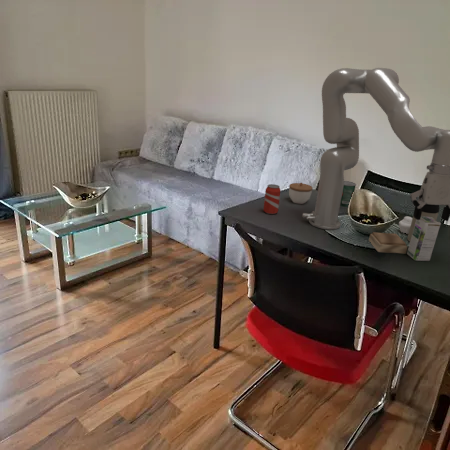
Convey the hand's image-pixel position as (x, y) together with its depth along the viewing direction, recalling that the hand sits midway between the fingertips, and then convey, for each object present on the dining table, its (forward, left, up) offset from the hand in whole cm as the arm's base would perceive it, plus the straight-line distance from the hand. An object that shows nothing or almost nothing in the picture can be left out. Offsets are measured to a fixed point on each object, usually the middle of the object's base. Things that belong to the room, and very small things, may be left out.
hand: (430, 219), depth 134 cm
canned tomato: (-10, +54, -15) cm, 57 cm away
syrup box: (0, 0, -15) cm, 15 cm away
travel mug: (+7, +14, -15) cm, 22 cm away
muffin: (+6, +23, -15) cm, 28 cm away
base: (-8, +8, -15) cm, 19 cm away
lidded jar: (-31, +56, -15) cm, 66 cm away
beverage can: (-47, +39, -15) cm, 63 cm away
